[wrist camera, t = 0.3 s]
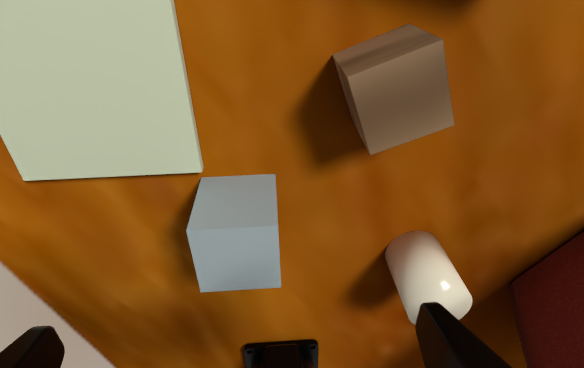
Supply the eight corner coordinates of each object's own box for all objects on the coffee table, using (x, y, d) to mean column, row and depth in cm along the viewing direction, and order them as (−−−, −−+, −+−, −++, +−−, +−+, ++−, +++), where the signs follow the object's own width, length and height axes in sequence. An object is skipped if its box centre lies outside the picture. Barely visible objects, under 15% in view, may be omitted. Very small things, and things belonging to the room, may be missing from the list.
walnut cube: (421, 96, 20) (454, 125, 16) (352, 121, 20) (370, 155, 17) (408, 22, 17) (442, 39, 14) (331, 54, 18) (347, 77, 15)
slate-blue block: (278, 229, 24) (281, 287, 20) (211, 233, 24) (200, 292, 20) (275, 173, 22) (278, 225, 17) (201, 176, 21) (186, 230, 17)
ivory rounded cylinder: (432, 268, 27) (463, 325, 23) (381, 271, 27) (403, 330, 23) (444, 229, 25) (480, 284, 21) (388, 232, 25) (413, 288, 21)
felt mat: (203, 167, 21) (201, 172, 20) (29, 175, 21) (23, 180, 20) (158, -87, 14) (154, -89, 14) (-99, -83, 14) (-113, -85, 13)
